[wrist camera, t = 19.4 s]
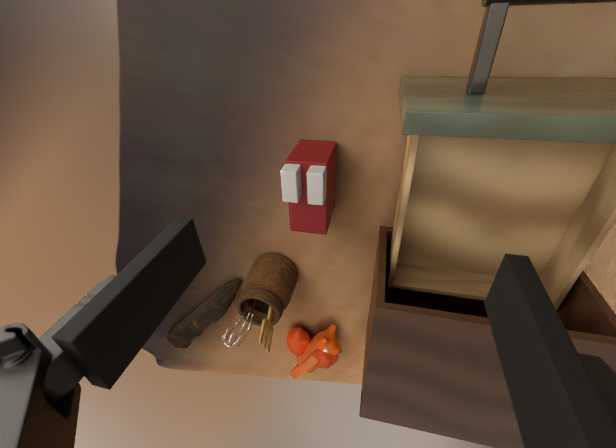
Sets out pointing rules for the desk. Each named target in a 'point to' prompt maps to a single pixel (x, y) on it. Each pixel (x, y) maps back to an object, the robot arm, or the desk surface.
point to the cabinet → (456, 358)
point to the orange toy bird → (313, 349)
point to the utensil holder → (266, 294)
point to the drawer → (502, 173)
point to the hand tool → (203, 315)
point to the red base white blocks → (310, 185)
